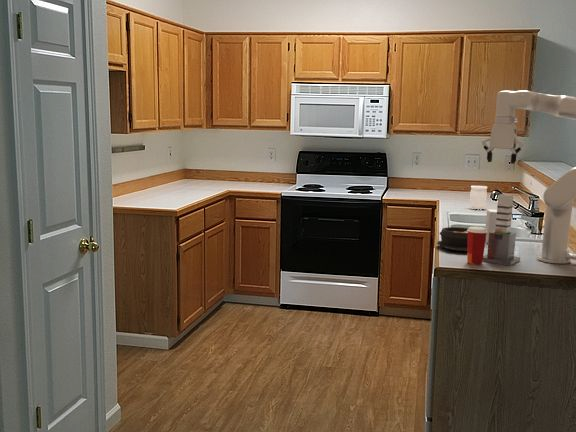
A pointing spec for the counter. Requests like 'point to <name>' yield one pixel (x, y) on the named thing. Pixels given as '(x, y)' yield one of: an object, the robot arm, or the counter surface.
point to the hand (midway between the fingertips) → (501, 162)
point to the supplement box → (490, 222)
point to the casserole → (454, 238)
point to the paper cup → (476, 245)
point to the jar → (478, 196)
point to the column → (504, 214)
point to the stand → (501, 249)
